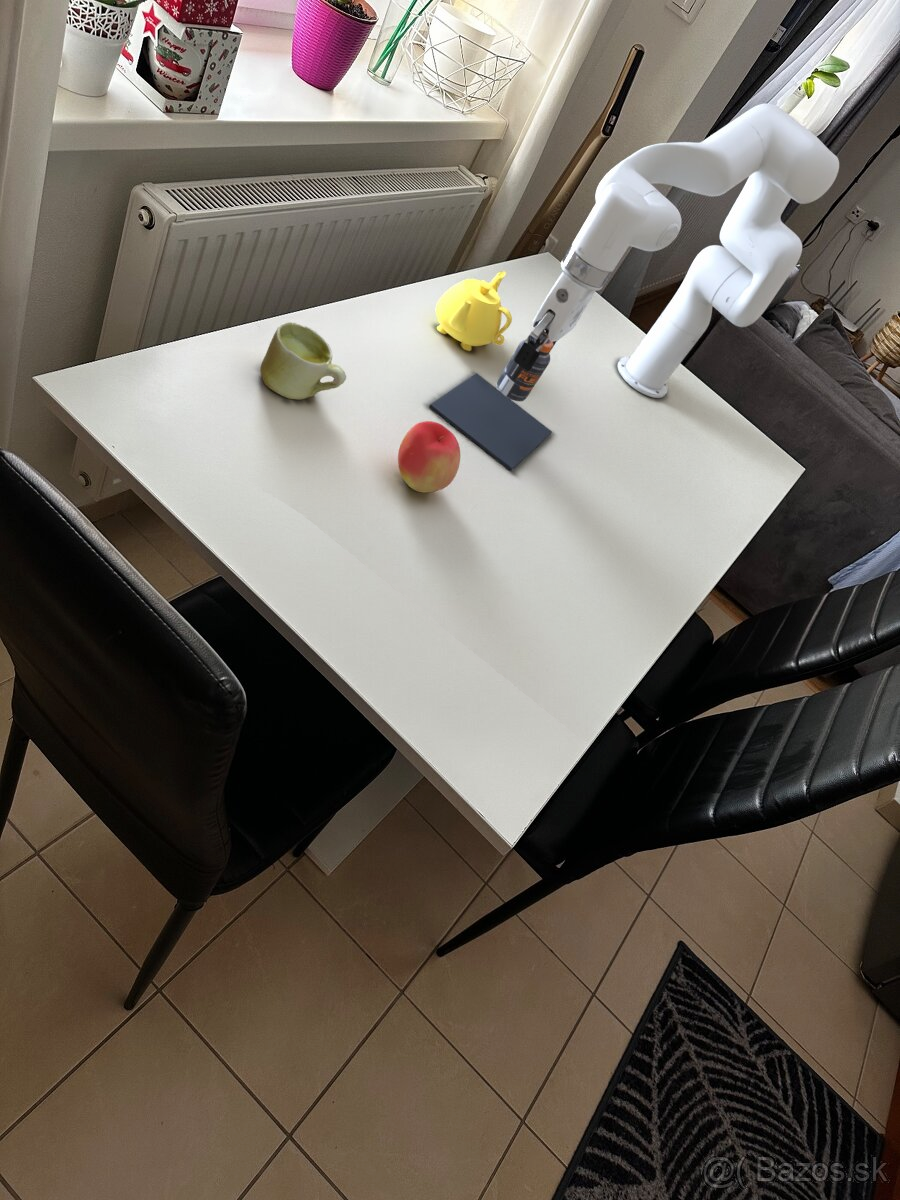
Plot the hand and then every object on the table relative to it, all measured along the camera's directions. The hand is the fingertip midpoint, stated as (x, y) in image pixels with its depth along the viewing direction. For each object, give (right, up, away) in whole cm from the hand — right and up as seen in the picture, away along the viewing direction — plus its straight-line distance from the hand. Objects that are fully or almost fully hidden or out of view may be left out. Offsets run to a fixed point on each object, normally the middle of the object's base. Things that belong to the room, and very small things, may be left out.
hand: (530, 359), depth 144 cm
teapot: (-11, +11, +24) cm, 28 cm away
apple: (-19, -22, -11) cm, 31 cm away
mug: (-38, -7, -9) cm, 39 cm away
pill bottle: (-3, -4, +5) cm, 7 cm away
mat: (-6, -8, +9) cm, 14 cm away
